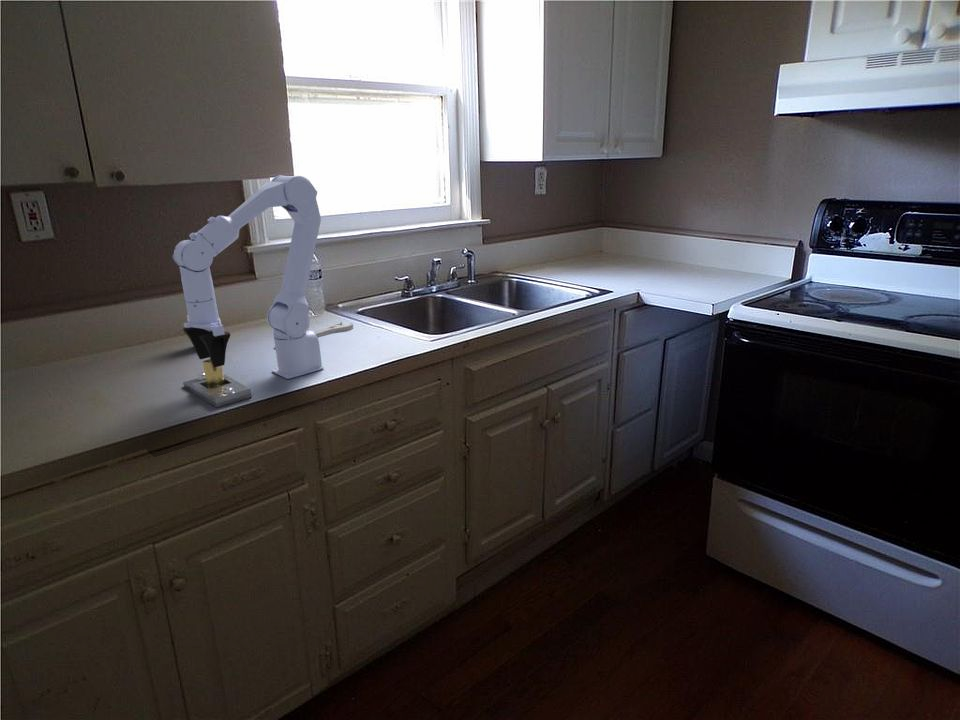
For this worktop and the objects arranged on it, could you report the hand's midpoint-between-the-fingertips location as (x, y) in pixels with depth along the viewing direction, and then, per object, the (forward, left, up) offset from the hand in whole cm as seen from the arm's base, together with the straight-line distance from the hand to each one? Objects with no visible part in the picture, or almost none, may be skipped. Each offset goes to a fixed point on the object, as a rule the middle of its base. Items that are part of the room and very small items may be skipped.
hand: (211, 361), depth 133 cm
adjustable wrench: (-36, -22, -8) cm, 43 cm away
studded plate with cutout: (0, 0, -7) cm, 7 cm away
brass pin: (0, 0, -7) cm, 7 cm away
